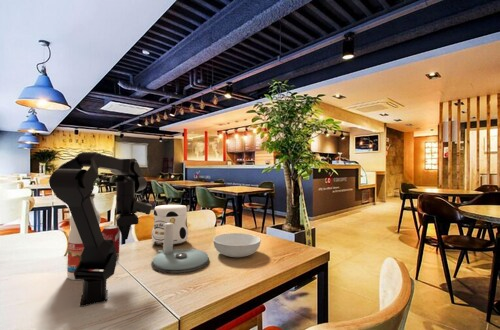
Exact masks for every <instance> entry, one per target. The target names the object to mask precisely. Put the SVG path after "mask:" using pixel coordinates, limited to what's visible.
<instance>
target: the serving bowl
mask: <svg viewBox="0 0 500 330" xmlns="http://www.w3.org/2000/svg"><path fill="white" fill-rule="evenodd" d="M212 240H213V245H214V248H215V250H216V252H218V253H219V254H221V255H224V256H226V257H231V258H242V257H243V258H244V257H247V256H251V255H253V254H255V253H256V252H257V251H258V250H259V248H260V246H261V238H260V237H259V236H258V235H254V234H250V233H241V232H230V233H229V232H228V233H227V232H226V233H222V234H218V235H216V236H214V237H213V239H212Z"/></svg>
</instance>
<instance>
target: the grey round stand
mask: <svg viewBox="0 0 500 330" xmlns="http://www.w3.org/2000/svg"><path fill="white" fill-rule="evenodd" d="M178 253H186V254H187V257H185V258H176V257H175V255H176V254H178ZM208 257H209V254H208V253H207V252H206V251H203V250H201V249H196V248H175V249H174V246H173V223H165V224H164V250H163V249H160V250H157V254H156V255H154V257H153V258H152V261H153V264H154V266H156V267H158V268H161V269H165V270H185V269H191V268H195V267H198V266H201V265H203V264H204V263H206V262H207V260H208Z"/></svg>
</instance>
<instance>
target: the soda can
mask: <svg viewBox="0 0 500 330" xmlns="http://www.w3.org/2000/svg"><path fill="white" fill-rule="evenodd" d="M101 232H102V235H103V238H104V239H107V240H113V241H114V245H115V248H116V249H117V250H116V254H117V255H119V254H120V247H121V246H120V243H121V242H120V237H121V232H120V230H119V228H118V226H117V224H115V225H114V224H112V225H111V224H110V225H105V226H103V229H102V230H101Z"/></svg>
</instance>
